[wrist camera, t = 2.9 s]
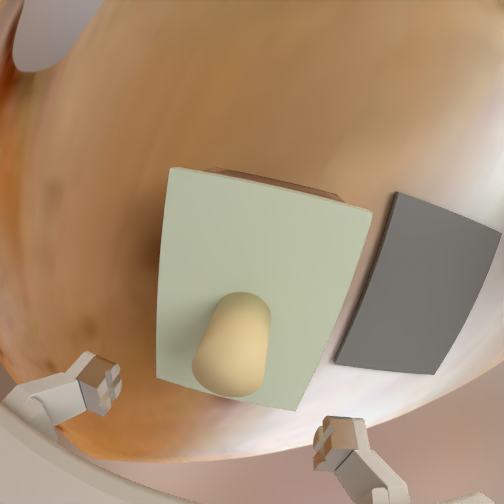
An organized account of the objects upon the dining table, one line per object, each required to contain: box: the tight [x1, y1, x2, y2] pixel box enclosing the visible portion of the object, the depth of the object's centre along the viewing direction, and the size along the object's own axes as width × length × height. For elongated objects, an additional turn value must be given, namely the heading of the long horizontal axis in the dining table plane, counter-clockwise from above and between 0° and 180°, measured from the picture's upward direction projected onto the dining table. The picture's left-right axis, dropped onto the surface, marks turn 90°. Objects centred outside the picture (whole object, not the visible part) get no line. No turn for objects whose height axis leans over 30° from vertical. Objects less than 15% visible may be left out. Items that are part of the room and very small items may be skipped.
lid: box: [156, 167, 373, 411], centre depth 14 cm, size 14×10×6 cm
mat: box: [334, 192, 501, 375], centre depth 22 cm, size 16×12×1 cm
